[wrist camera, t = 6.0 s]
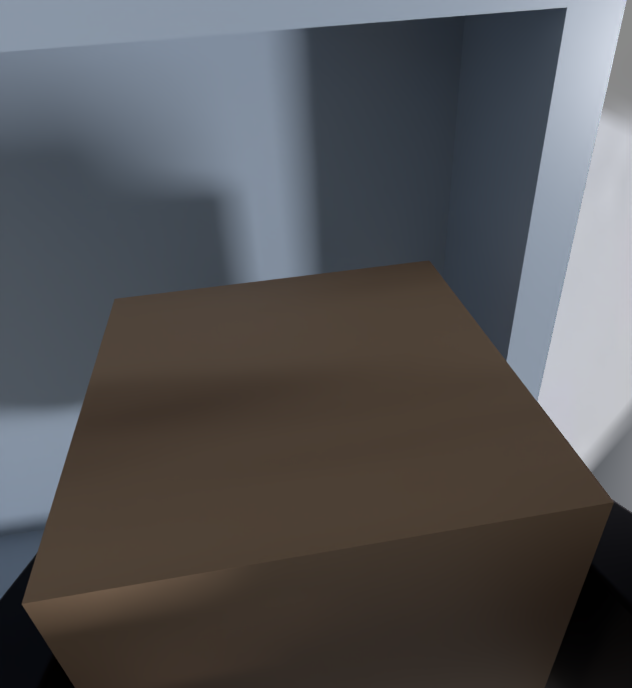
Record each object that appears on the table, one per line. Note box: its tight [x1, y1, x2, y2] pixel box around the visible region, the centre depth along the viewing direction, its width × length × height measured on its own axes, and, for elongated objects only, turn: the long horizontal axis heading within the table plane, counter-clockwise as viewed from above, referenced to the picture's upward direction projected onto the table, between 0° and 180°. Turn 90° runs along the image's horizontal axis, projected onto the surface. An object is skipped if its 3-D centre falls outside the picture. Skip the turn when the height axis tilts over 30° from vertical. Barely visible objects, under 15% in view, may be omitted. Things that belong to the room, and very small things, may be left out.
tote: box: [0, 0, 626, 599], centre depth 11 cm, size 14×18×4 cm
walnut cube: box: [22, 260, 614, 688], centre depth 8 cm, size 5×5×5 cm
